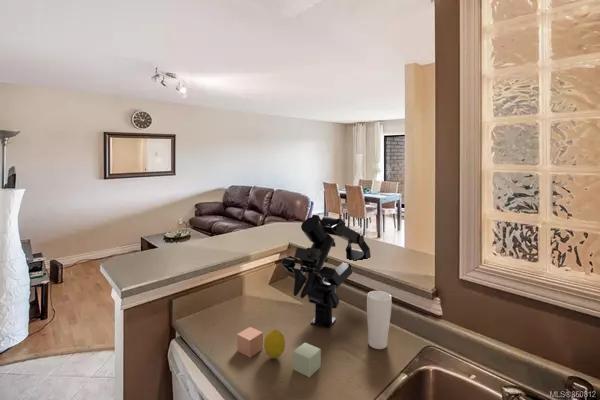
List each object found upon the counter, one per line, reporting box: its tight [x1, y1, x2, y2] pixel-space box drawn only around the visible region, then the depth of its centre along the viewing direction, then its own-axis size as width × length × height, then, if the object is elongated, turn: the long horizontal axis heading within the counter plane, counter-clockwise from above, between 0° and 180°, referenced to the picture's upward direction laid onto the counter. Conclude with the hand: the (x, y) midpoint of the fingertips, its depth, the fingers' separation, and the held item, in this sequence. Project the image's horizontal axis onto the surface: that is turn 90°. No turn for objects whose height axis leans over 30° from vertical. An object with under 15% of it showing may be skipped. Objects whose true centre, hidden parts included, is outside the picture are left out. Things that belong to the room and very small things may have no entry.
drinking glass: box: [366, 290, 393, 350], centre depth 91 cm, size 7×7×15 cm
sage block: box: [292, 342, 322, 378], centre depth 81 cm, size 5×5×5 cm
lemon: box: [263, 329, 286, 359], centre depth 85 cm, size 6×6×8 cm
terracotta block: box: [236, 326, 264, 358], centre depth 89 cm, size 5×5×5 cm
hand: (297, 296), depth 92 cm, fingers open, 2 cm apart
